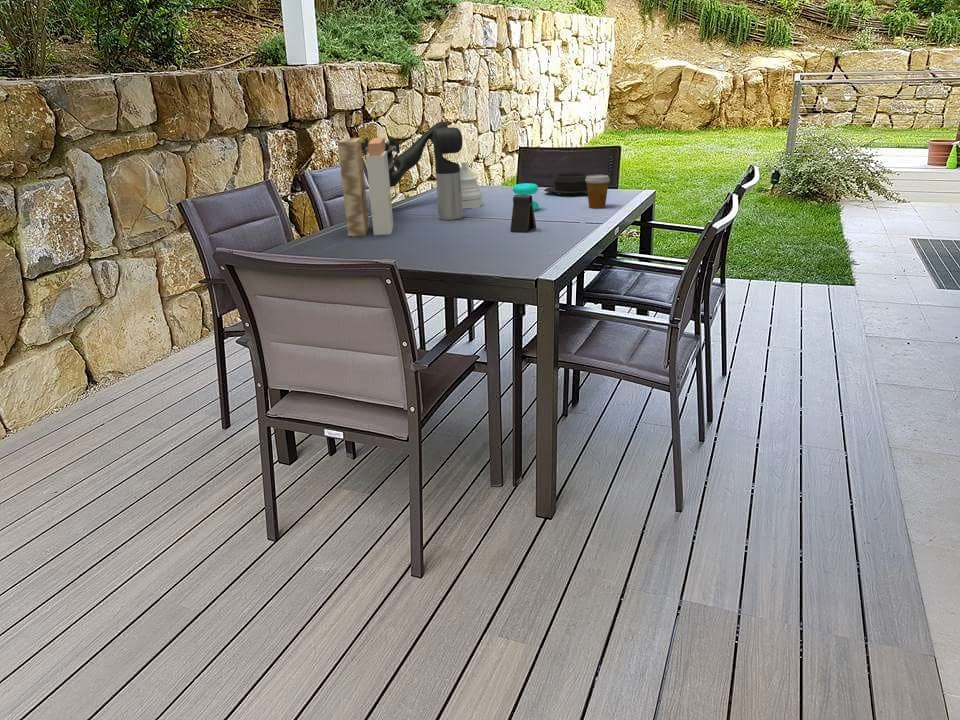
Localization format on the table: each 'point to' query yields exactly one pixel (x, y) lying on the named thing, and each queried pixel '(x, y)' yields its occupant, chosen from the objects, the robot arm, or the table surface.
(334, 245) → the table surface
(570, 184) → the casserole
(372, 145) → the terracotta bar
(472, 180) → the honey pot
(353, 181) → the oak post
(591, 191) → the disposable coffee cup
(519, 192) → the donuts
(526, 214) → the door stopper
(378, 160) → the grey post
